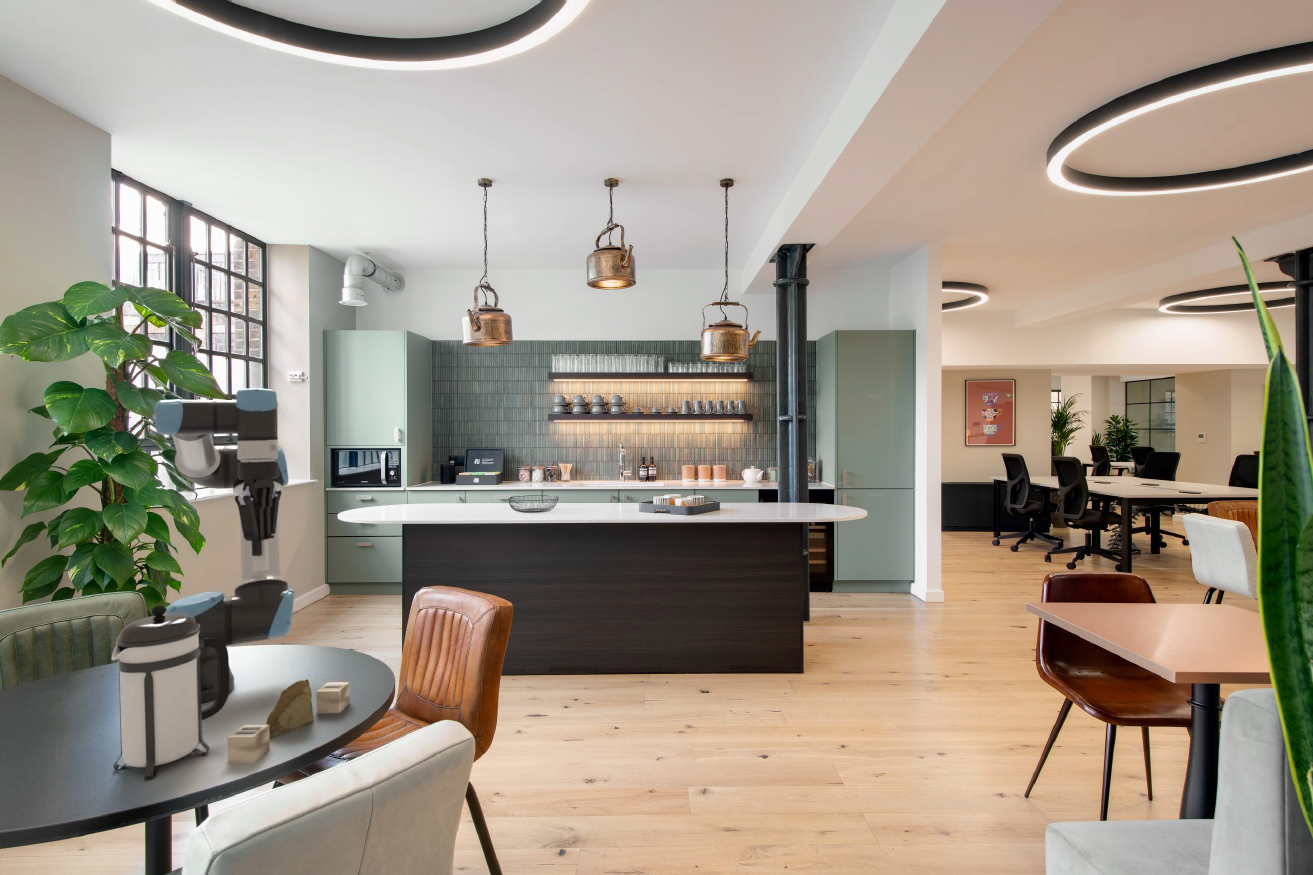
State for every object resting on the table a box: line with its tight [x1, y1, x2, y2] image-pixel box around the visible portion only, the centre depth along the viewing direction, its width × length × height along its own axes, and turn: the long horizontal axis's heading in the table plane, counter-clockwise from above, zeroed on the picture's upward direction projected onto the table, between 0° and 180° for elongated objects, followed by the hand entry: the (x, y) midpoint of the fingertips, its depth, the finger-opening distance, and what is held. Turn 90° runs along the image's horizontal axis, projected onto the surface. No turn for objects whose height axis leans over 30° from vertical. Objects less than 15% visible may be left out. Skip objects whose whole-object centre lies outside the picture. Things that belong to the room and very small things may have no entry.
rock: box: [265, 678, 314, 738], centre depth 138 cm, size 11×9×10 cm
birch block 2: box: [315, 681, 351, 714], centre depth 147 cm, size 5×5×5 cm
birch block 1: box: [226, 724, 271, 764], centre depth 126 cm, size 5×5×5 cm
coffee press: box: [111, 604, 230, 781], centre depth 126 cm, size 17×16×30 cm
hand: (261, 569), depth 141 cm, fingers closed
